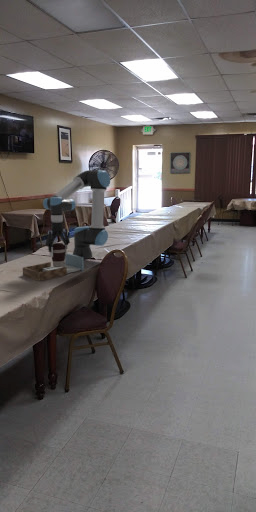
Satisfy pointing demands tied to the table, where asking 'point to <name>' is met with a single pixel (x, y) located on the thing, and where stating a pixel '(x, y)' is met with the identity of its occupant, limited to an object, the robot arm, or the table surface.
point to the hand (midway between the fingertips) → (58, 255)
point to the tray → (70, 263)
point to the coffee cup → (58, 254)
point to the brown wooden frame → (37, 273)
